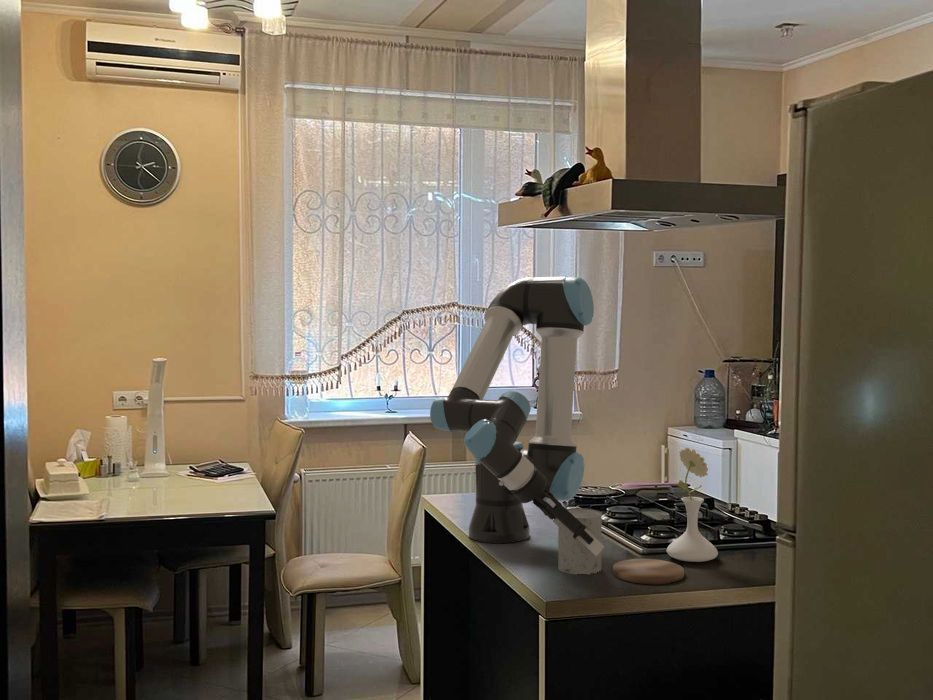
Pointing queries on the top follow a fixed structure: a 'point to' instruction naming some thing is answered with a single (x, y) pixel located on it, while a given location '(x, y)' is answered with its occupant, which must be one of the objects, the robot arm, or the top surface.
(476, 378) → the robot arm
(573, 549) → the white speckled cylinder
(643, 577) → the walnut board
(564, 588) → the top surface
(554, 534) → the top surface
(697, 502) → the flower in vase
